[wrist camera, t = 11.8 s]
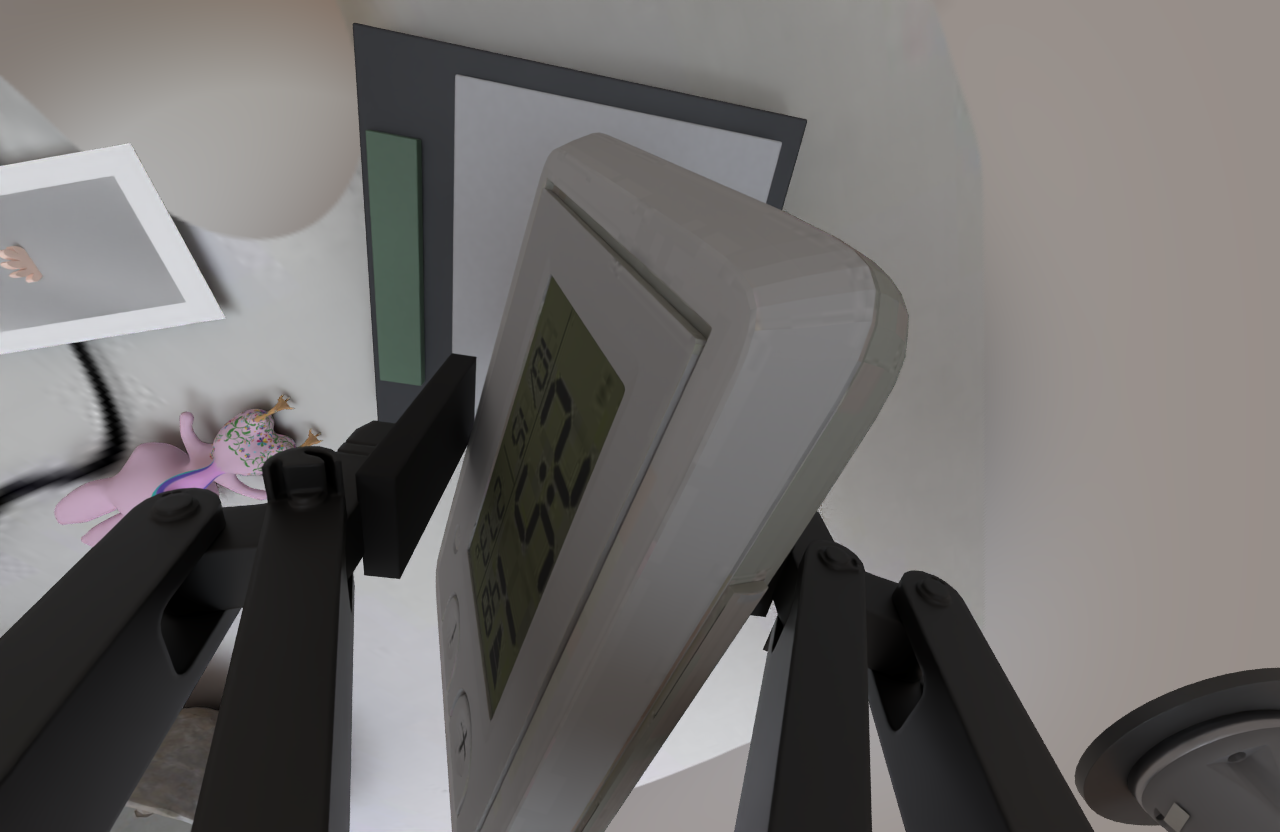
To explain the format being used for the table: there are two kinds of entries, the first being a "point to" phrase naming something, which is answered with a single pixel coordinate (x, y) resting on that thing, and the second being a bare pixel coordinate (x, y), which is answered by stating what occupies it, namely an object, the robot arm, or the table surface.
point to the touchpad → (91, 253)
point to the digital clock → (638, 470)
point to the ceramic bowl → (172, 777)
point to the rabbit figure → (181, 469)
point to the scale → (503, 181)
